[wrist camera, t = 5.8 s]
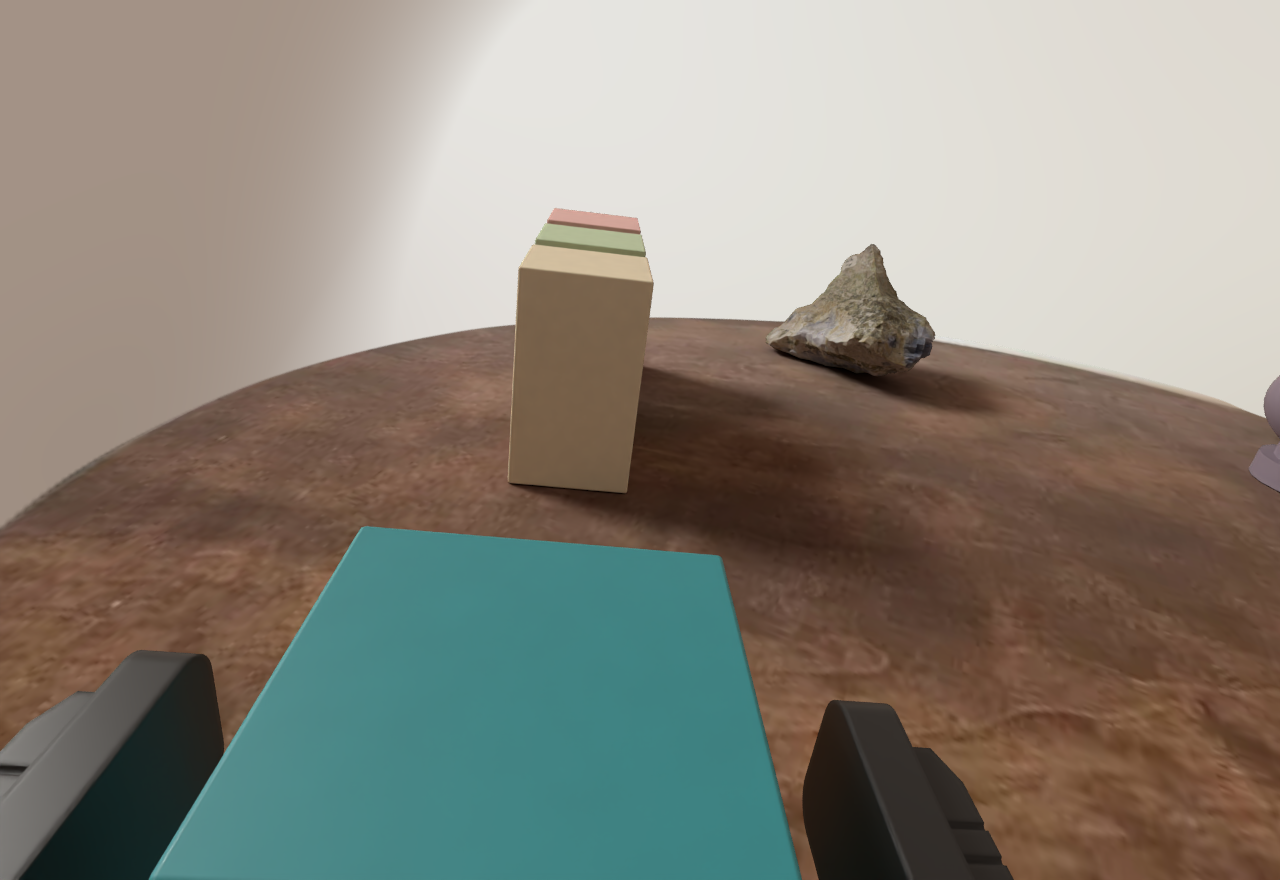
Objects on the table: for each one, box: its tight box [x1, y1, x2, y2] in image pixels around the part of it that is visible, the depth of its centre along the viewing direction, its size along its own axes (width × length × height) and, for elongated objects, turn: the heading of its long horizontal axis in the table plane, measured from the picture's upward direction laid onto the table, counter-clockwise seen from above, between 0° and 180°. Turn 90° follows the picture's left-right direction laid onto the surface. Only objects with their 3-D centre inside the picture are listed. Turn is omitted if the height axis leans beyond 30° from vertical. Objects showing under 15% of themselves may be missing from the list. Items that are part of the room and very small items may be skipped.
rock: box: [766, 244, 935, 376], centre depth 50 cm, size 11×6×10 cm
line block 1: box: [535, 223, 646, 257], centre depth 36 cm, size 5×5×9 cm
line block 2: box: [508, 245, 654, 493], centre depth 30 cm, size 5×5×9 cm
